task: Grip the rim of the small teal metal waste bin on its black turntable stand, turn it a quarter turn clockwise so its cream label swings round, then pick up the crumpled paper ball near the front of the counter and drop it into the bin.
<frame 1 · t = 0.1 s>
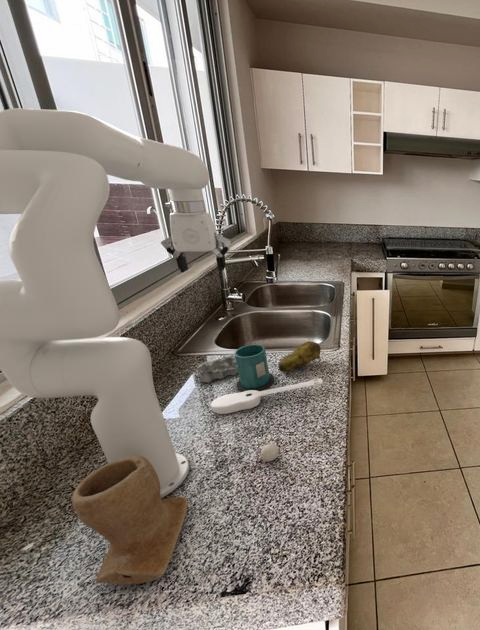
hand: (203, 270, 97), 31 cm above the counter, tool pointing down, fingers open, 9 cm apart
white handheld wand: (271, 400, 94), on the counter
paper ball: (269, 452, 74), point 2 cm above the counter
bin: (252, 365, 99), point 6 cm above the counter, hinge at 0.0°
bin stand: (256, 382, 101), on the counter
egg carton: (219, 374, 105), on the counter
olive green oblong piece: (301, 367, 109), on the counter
stone cup: (143, 546, 57), on the counter
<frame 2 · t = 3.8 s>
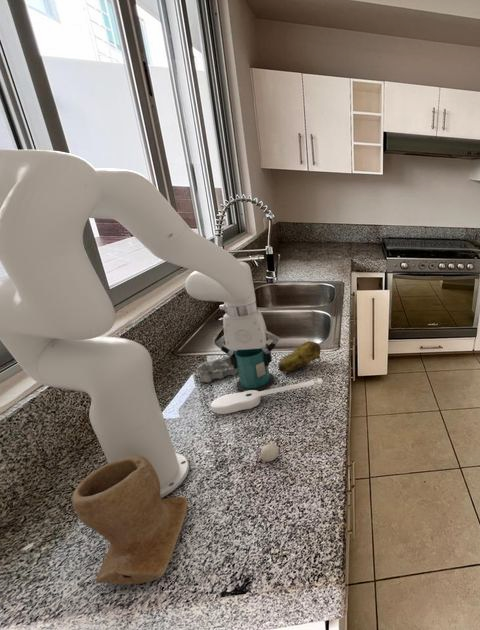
hand: (252, 364, 98), 6 cm above the counter, tool pointing down, fingers closed on bin, 7 cm apart
bin: (252, 365, 99), point 6 cm above the counter, hinge at -0.1°, touching gripper
everything else where it was.
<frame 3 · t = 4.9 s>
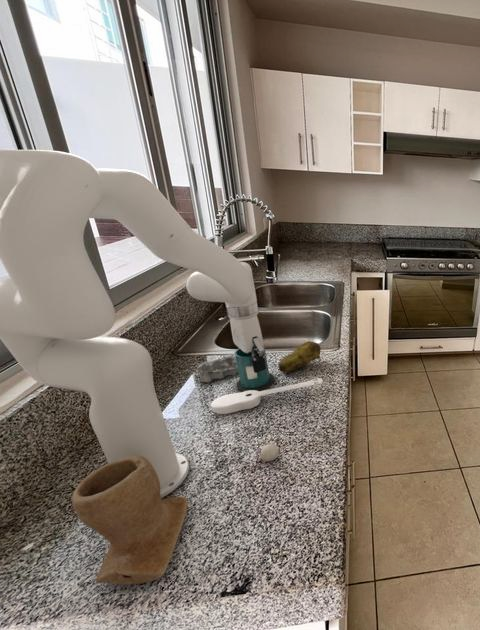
hand: (253, 364, 98), 6 cm above the counter, tool pointing down, fingers closed on bin, 8 cm apart
bin: (252, 365, 99), point 6 cm above the counter, hinge at -35.7°, touching gripper
everything else where it was.
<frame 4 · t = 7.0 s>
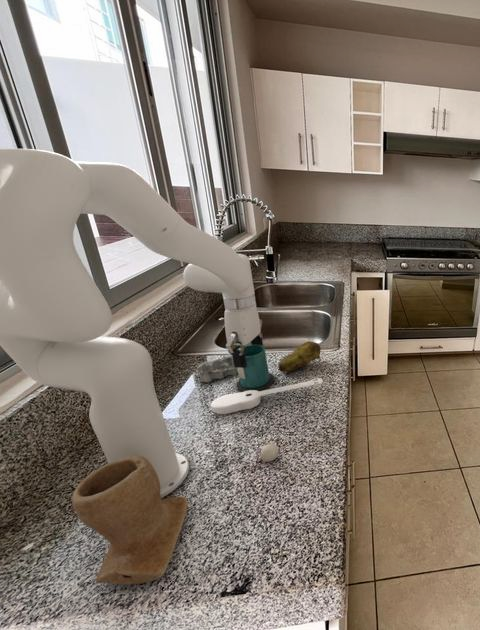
hand: (249, 358, 97), 9 cm above the counter, tool pointing down, fingers open, 9 cm apart
bin: (252, 365, 99), point 6 cm above the counter, hinge at -79.2°, touching gripper
everything else where it was.
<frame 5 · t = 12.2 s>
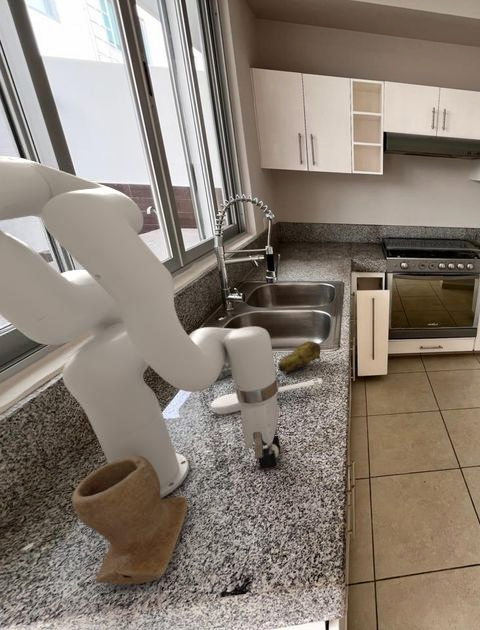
hand: (270, 457, 75), 0 cm above the counter, tool pointing down, fingers closed on paper ball, 3 cm apart
paper ball: (269, 452, 74), point 2 cm above the counter, touching gripper
bin: (252, 365, 99), point 6 cm above the counter, hinge at -78.6°
everything else where it was.
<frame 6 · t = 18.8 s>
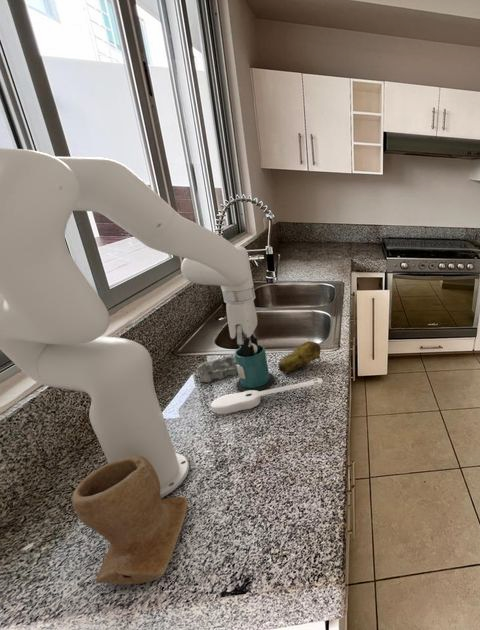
hand: (250, 354, 97), 10 cm above the counter, tool pointing down, fingers closed on paper ball, 3 cm apart
paper ball: (250, 349, 97), point 11 cm above the counter, touching gripper
bin: (252, 365, 99), point 6 cm above the counter, hinge at -78.7°, touching gripper
everything else where it was.
when the fingers open (11 cm above the counter, at t = 22.5 s): paper ball moves 1 cm and tips over, resting on bin.
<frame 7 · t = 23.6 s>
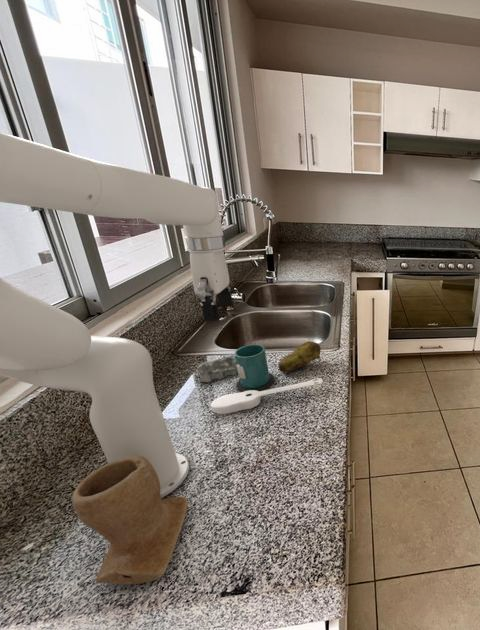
hand: (219, 313, 85), 25 cm above the counter, tool pointing down, fingers open, 9 cm apart
paper ball: (251, 376, 98), point 3 cm above the counter, tilted 55°, touching bin
bin: (252, 365, 99), point 6 cm above the counter, hinge at -78.3°, touching paper ball
everything else where it was.
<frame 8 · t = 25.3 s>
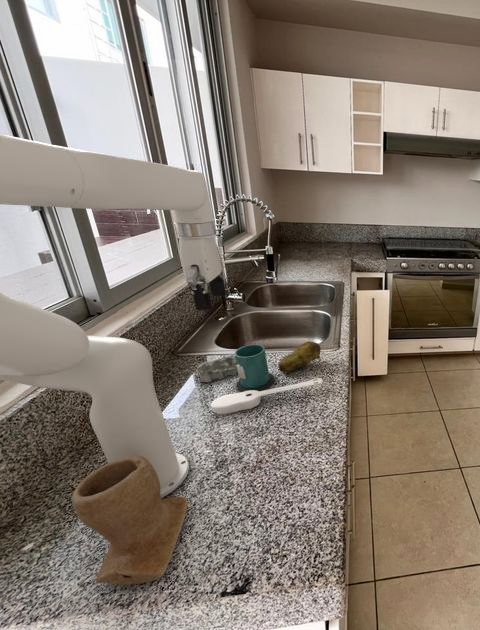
hand: (212, 302, 83), 28 cm above the counter, tool pointing down, fingers open, 9 cm apart
paper ball: (253, 375, 99), point 3 cm above the counter, tilted 36°, touching bin
everything else where it was.
at the end: bin at -78° (first picture: +0°); paper ball 1.0 cm off-centre on the bin, point 3.2 cm above the bin's base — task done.
